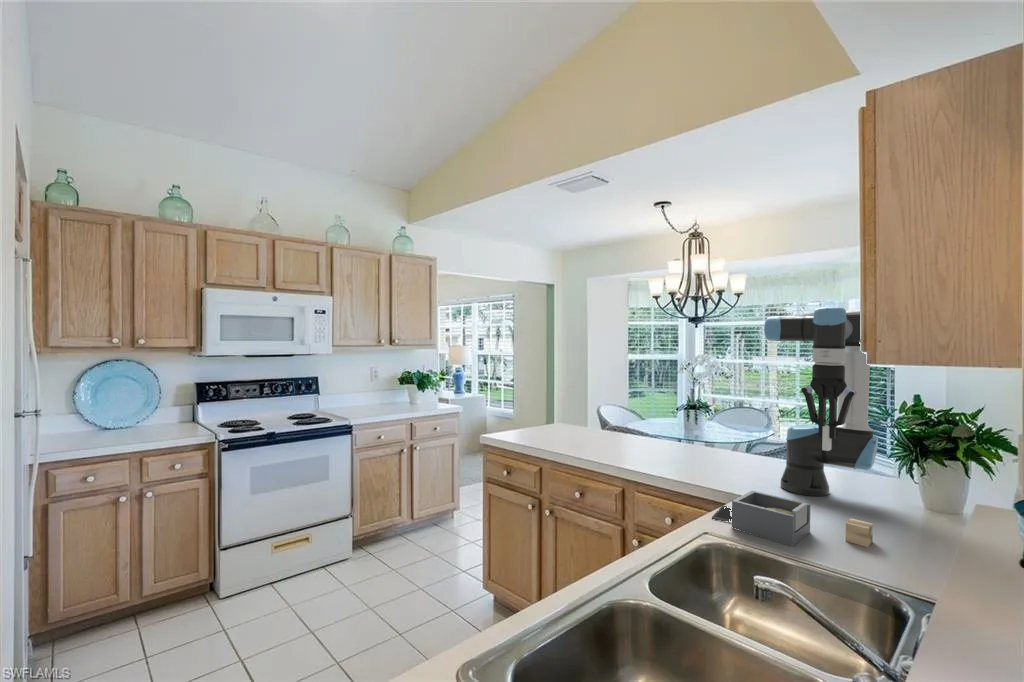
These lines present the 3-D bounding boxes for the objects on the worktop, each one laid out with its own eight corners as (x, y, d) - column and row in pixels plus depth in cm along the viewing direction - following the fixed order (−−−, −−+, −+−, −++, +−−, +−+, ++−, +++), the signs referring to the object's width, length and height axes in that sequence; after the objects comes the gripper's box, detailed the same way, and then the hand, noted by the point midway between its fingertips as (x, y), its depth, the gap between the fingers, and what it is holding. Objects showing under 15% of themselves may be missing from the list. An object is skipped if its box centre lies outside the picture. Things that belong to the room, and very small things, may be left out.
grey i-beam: (754, 509, 149) (755, 491, 149) (806, 522, 139) (807, 503, 139) (742, 516, 143) (742, 498, 143) (795, 531, 133) (795, 511, 133)
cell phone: (710, 520, 150) (710, 517, 150) (722, 507, 161) (722, 504, 161) (736, 526, 146) (736, 523, 146) (746, 512, 157) (747, 510, 157)
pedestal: (850, 536, 138) (851, 518, 138) (872, 541, 134) (872, 523, 134) (845, 541, 134) (846, 523, 134) (867, 547, 131) (868, 528, 131)
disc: (799, 519, 140) (799, 513, 140) (788, 526, 134) (789, 520, 134) (769, 511, 146) (769, 505, 146) (758, 518, 140) (758, 512, 140)
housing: (751, 516, 152) (752, 490, 152) (809, 532, 140) (810, 504, 140) (731, 528, 143) (732, 500, 143) (792, 546, 131) (792, 516, 131)
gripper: (797, 363, 138) (795, 447, 139) (852, 366, 128) (850, 456, 129) (806, 362, 143) (805, 443, 144) (860, 364, 133) (858, 451, 134)
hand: (826, 449), depth 136 cm, fingers closed
